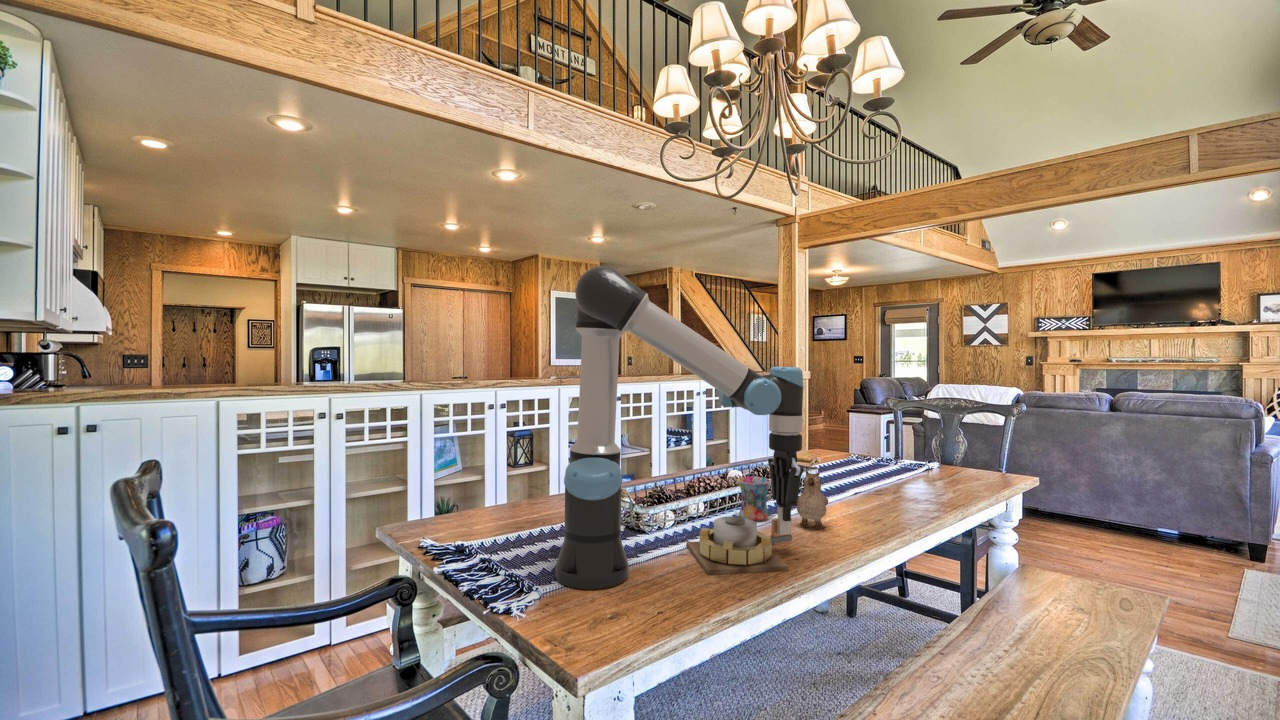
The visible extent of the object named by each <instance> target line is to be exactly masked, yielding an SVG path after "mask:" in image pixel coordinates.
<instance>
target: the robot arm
mask: <svg viewBox="0 0 1280 720" xmlns="http://www.w3.org/2000/svg"><path fill="white" fill-rule="evenodd" d="M575 299H576V317H575V330H576V331H577V333H578V334H579V335H581V351H580V352H581V354H580V355H581V356H580V375H579V377H580V378H579V393H578V394H579V397H578V398H579V399H578V417H577V436H576V437H577V440H576V441H575V443H573V444H572V445H571V447H570V450H569V463H568V465H567V466H566V468H565V473H564V478H563V484H564V538H563V542H562V545H561V548H560V551H559V554H558V557H557V560H556V562H555V580H557V582H558V583H559V584H561V585H564V586H566V587H570V588H573V589H578V590H579V589H580V590H601V589H608V588H609V589H610V588H611V587H616V586H618V585H621V584H623V583H624V582H625V581H626V580H627V579H629V566H630V565H629V562H628V558H627V555H626V551H625V548H624V546H623V541H622V539H621V536H622V535H621V527H622V525H621V523H622V519H621V518H622V517H621V516H622V513H621V512H622V485H623V476H622V469H621V453H622V451H621V448H620V447H619V446H618V444H616V442H615V440H616V419H617V400H618V382H619V381H618V378H619V377H618V375H619V360H620V359H619V356H620V341H621V340H620V339H621V338H622V337H623V336H624V335H625V334H626V333H627V332H629V333H631V334H632V335H634V336H635V337H637V338H638V339H640V340H642V341H643V342H645V343H646V344H648V346H651V347H652V348H654V349H655V350H657V351H658V352H660V353H662V354H663V355H664V356H666V357H668V358H669V359H671V360H672V361H674V362H675V363H677V364H678V365H680V366H681V367H683V368H684V369H686V370H687V371H688V372H690V373H692V374H693V375H695V377H698V378H699V379H701V380H702V381H704V382H705V383H707V384H708V385H710V386H711V387H713V388H715V389H716V390H717V392H718V393H717V395H718V397H717V398H718V402H719V404H720V405H721V406H722V407H724V408H726V407H727V408H732V409H733V408H741V409H744V410H747V411H749V412H750V413H751V414H753V415H756V416H769V419H768V430H769V431H770V433H769V435H768V447H769V449H770V450H772V451H773V457H770V458H768V459H767V462H768V463H767V464H768V466H769V474H770V480H771V485H770V487H771V489H772V495H771V497H772V500H773V501H775V503H776V505H777V518H778V522H777V533H778V534H779V535H785V534H791V535H792V519H791V518H792V507H797V500H798V496H799V493H800V485H801V479H802V477H803V473H804V467H803V466H799V464H798V456H797V453H798V452H800V451H801V450H802V449H803V435H802V434H801V432H803V422H804V419H803V404H804V403H803V401H804V400H803V399H804V398H803V397H804V387H805V386H804V373H803V370H802V369H801V368H800V367H797V366H772V367H771V368H770V369H769V370H770V371H769V374H765V375H764V374H763V375H761V374H758V373H757V372H755V370H753V369H751V368H749V367H748V366H747V365H746V364H744V363H742V362H741V361H739V359H736V358H735V357H733V356H732V355H731V354H729V353H728V352H726V351H724V350H723V349H722V348H720V347H719V346H717V345H716V344H714V343H713V342H711V341H710V340H708V339H707V338H705V337H704V336H703V335H701V334H699V333H698V332H696V331H694V329H692V328H691V327H689V326H687V325H686V324H684V323H683V322H682V321H680V320H678V319H677V318H676V317H674V316H673V315H671V314H670V313H668V312H666V311H665V310H664V309H662V308H661V307H659V306H657V305H656V304H655V303H653V302H651V300H650V299H649V293H647V292H646V291H644V290H643V289H641V288H640V287H638V286H637V285H636V284H635V283H634V282H632V281H631V280H630V279H628V278H627V276H625V275H624V274H623V273H622V272H620V271H619V270H617V269H616V268H613V267H611V266H606V265H605V266H604V265H600V266H594V267H592V268H590V269H588V270H587V271H585V272H584V273H583V274H581V276H580V278H579V279H578V281H577V283H576V287H575Z"/></svg>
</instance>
